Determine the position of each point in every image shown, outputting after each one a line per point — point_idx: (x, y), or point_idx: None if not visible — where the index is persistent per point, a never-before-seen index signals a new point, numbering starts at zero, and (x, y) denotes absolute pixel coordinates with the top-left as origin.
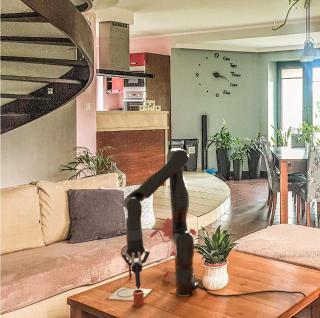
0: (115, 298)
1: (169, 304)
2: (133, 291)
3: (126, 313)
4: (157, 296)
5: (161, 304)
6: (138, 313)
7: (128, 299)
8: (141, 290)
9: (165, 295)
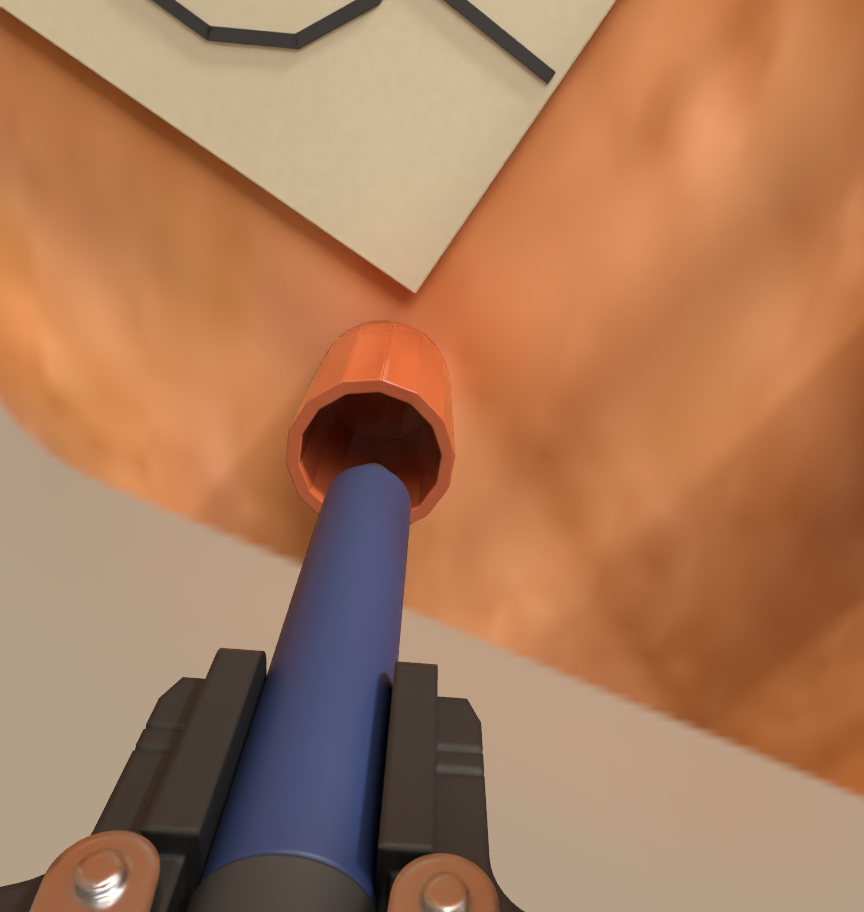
0: (49, 19)
1: (727, 525)
2: (293, 425)
3: (220, 531)
4: (678, 217)
5: (644, 486)
6: None
7: (254, 167)
8: (429, 419)
9: (792, 237)
